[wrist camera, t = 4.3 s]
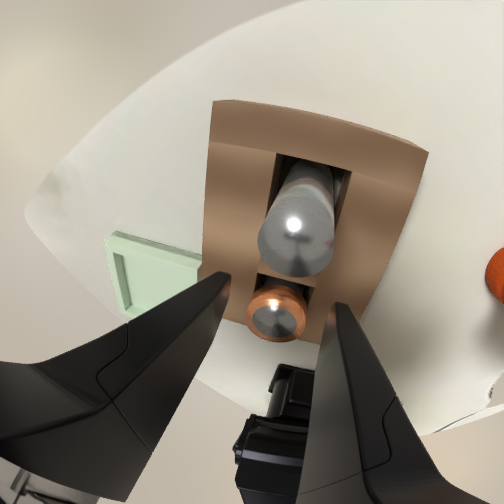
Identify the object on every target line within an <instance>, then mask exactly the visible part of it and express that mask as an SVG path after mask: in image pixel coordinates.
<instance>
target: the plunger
mask: <svg viewBox="0 0 504 504" xmlns="http://www.w3.org/2000/svg"><path fill="white" fill-rule="evenodd" d="M303 291H304V284H300V283H296V282H292V281H288V280H284V279H280V278H277V277H273V276H269V275H267V278H266V280H265V283H264V286H263V287H261V288H260V289H258V290H257V291H256V292H255V293H254V294H253V296H252V298H251V300H250V303H249V305H248V308H247V310H246V313H245V321H246V324H247V326H248V328H249V329H250V330H251V331H252V332H253V333H254V334H255V335H257V336H258V337H260V338H262V339H265V340H268V341H271V342H288V341H292V340H294V339H296V338H298V337H299V336H300V335H301V334H302V333H303V331H304V328H305V321H306V315H307V304H306V302H305V300H304V298H303V297H302V296H303Z"/></svg>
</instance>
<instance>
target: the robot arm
mask: <svg viewBox="0 0 504 504" xmlns="http://www.w3.org/2000/svg"><path fill="white" fill-rule="evenodd" d="M231 279H232V276H231V274H230V273H226V272H223V271H216V272H215V273H213V274H211V275H209V276H208V277H206V278H204V279H202V280H201V281H199V282H197V283H195V284H194V285H192V286H190V287H188V288H187V289H185V290H183V291H181V292H179V293H178V294H176V295H174V296H172V297H171V298H169V299H167V300H165V301H164V302H162V303H160V304H158V305H157V306H155V307H153V308H151V309H150V310H148V311H146V312H144V313H143V314H141V315H139V316H137V317H136V318H134V319H132V320H130V321H129V322H128V323H125V324H123V325H121V326H120V327H118V328H116V329H115V330H112V331H110V332H109V333H107V334H105V335H103V336H101V337H99V338H97V339H95V340H93V341H90V342H88V343H86V344H84V345H82V346H79V347H77V348H75V349H72V350H70V351H68V352H65V353H63V354H61V355H58V356H56V357H54V358H51V359H49V360H46V361H43V362H40V363H34V364H21V363H12V362H3V361H0V504H97V502H98V500H99V498H100V497H103V498H107V499H111V500H116V501H121V502H125V501H126V500H127V498H128V496H129V494H130V493H131V491H132V489H133V487H134V486H135V483H136V482H137V480H138V478H139V476H140V475H141V473H142V471H143V469H144V468H145V466H146V463H147V462H148V460H149V458H150V457H151V455H152V452H153V451H154V449H155V447H156V446H157V444H158V442H159V440H160V438H161V437H162V435H163V433H164V431H165V429H166V427H167V425H168V424H169V422H170V420H171V418H172V416H173V415H174V413H175V411H176V409H177V407H178V406H179V404H180V402H181V400H182V398H183V396H184V394H185V393H186V391H187V389H188V387H189V385H190V383H191V382H192V380H193V378H194V376H195V374H196V372H197V370H198V369H199V367H200V365H201V363H202V361H203V359H204V358H205V356H206V354H207V352H208V350H209V348H210V346H211V344H212V342H213V340H214V337H215V335H216V332H217V329H218V327H219V324H220V321H221V319H222V316H223V314H224V311H225V308H226V306H227V303H228V300H229V296H230V288H231ZM268 391H269V392H270V393H272V397H271V401H270V404H269V408H268V412H267V415H266V417H263V416H257V415H256V414H251V416H250V418H249V419H247V420H246V423H245V426H244V429H243V431H242V433H241V435H240V436H239V438H238V439H237V441H236V443H235V444H234V446H233V451H234V453H235V463H236V464H237V465H238V469H237V473H236V477H235V482H236V485H237V488H238V489H239V490H240V493H241V496H242V499H243V502H244V504H489V503H487V502H485V501H483V500H481V499H479V498H477V497H475V496H473V495H471V494H469V493H467V492H465V491H463V490H461V489H459V488H457V487H455V486H454V485H452V484H451V483H449V482H448V481H447V480H446V479H445V478H444V477H443V476H442V475H441V474H440V472H439V471H438V469H437V467H436V466H435V464H434V462H433V460H432V459H431V457H430V455H429V454H428V452H427V450H426V448H425V447H424V445H423V443H422V442H421V440H420V438H419V436H418V435H417V433H416V431H415V429H414V428H413V426H412V424H411V422H410V420H409V418H408V416H407V414H406V413H405V411H404V409H403V407H402V405H401V403H400V400H399V398H398V397H397V396H396V393H395V391H394V389H393V387H392V385H391V383H390V381H389V379H388V377H387V375H386V373H385V371H384V369H383V367H382V365H381V363H380V361H379V359H378V357H377V355H376V354H375V352H374V350H373V348H372V346H371V344H370V342H369V341H368V339H367V337H366V335H365V333H364V331H363V330H362V328H361V326H360V324H359V322H358V321H357V319H356V317H355V315H354V314H353V312H352V310H351V308H350V307H349V305H348V304H345V303H341V302H337V301H336V302H335V303H334V304H333V306H332V308H331V310H330V313H329V315H328V317H327V319H326V322H325V325H324V330H323V335H322V340H321V345H320V350H319V355H318V360H317V364H316V370H315V372H312V371H308V370H303V369H299V368H295V367H291V366H287V365H282V364H280V365H278V366H277V369H276V371H275V374H274V377H273V379H272V382H271V384H270V386H269V390H268Z"/></svg>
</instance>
